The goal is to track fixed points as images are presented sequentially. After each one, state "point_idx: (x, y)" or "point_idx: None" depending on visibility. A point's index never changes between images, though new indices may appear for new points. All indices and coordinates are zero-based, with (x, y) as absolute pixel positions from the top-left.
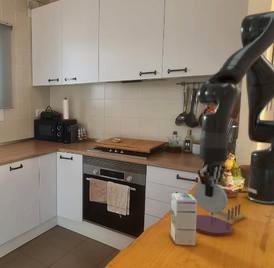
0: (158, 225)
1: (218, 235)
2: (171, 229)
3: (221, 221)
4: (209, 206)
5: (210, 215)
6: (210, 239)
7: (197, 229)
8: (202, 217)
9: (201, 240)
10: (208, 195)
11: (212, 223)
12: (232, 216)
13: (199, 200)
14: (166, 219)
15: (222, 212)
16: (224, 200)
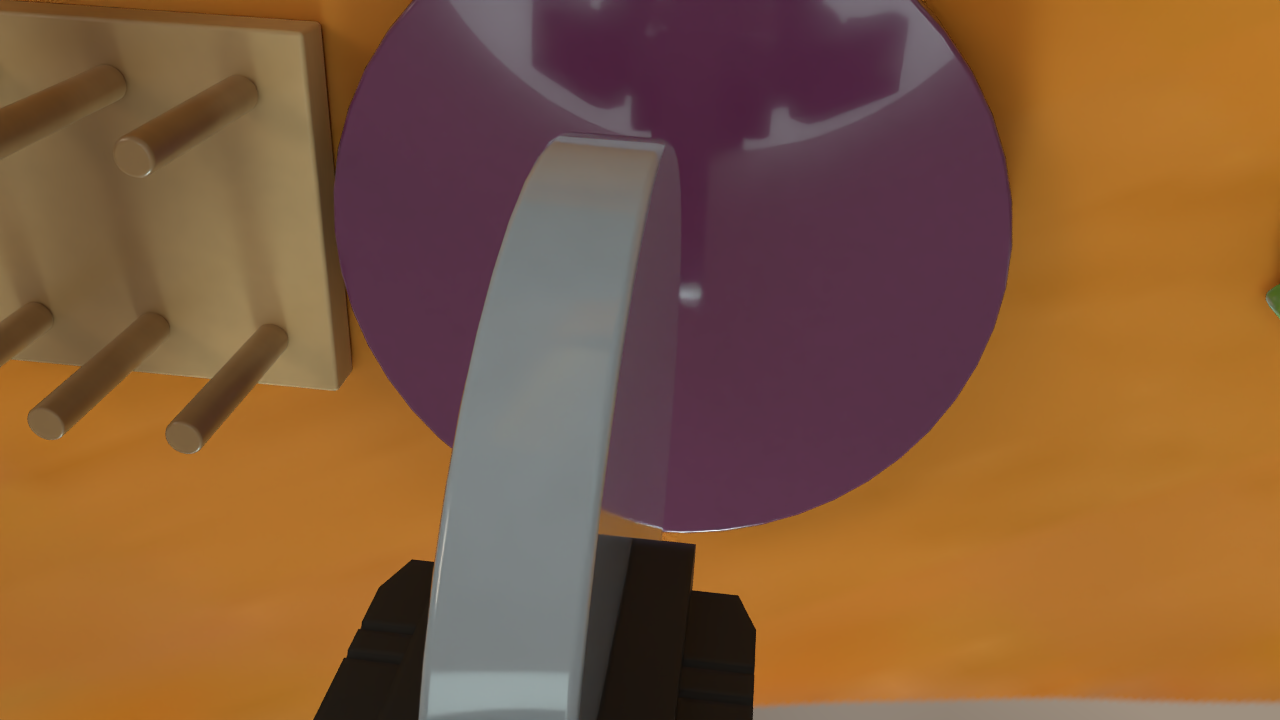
0: (1181, 676)
1: None
2: None
3: (410, 143)
4: (664, 416)
5: (319, 345)
6: (1127, 31)
7: (1000, 287)
8: None
9: (1271, 113)
10: (733, 624)
11: None
12: (96, 80)
13: None
14: (901, 679)
15: (35, 266)
16: (648, 221)
